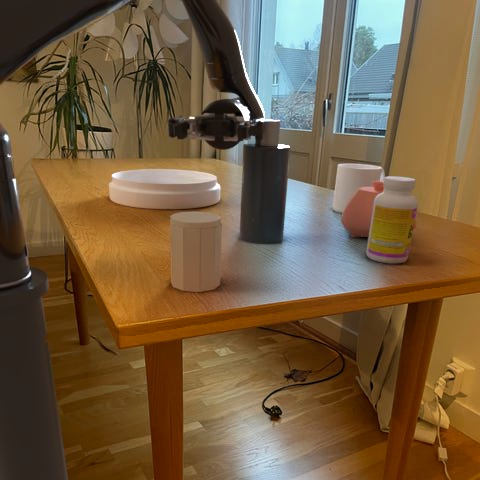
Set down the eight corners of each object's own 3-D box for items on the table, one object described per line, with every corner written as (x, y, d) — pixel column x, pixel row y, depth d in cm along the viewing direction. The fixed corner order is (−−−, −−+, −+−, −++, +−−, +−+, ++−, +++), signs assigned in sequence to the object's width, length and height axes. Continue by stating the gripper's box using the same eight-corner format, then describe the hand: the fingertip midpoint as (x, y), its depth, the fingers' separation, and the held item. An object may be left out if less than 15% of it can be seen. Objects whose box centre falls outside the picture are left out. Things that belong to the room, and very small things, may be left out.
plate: (86, 201, 111) (84, 177, 109) (146, 186, 134) (146, 165, 132) (190, 214, 103) (190, 188, 100) (235, 195, 126) (236, 174, 123)
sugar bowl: (349, 224, 100) (356, 174, 96) (418, 235, 94) (429, 182, 90) (331, 237, 90) (338, 181, 86) (407, 249, 84) (418, 190, 80)
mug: (350, 216, 108) (357, 169, 103) (324, 208, 116) (329, 163, 111) (392, 213, 113) (399, 168, 109) (363, 205, 121) (370, 163, 117)
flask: (246, 244, 83) (251, 120, 75) (234, 232, 90) (239, 118, 82) (289, 243, 85) (299, 122, 77) (274, 231, 92) (283, 119, 84)
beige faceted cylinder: (175, 293, 60) (173, 223, 57) (168, 276, 66) (167, 211, 63) (224, 290, 62) (226, 222, 58) (213, 274, 68) (214, 210, 64)
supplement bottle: (409, 266, 75) (426, 183, 70) (366, 262, 76) (379, 179, 71) (404, 254, 81) (419, 177, 76) (364, 251, 82) (376, 174, 77)
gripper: (183, 98, 79) (157, 101, 65) (268, 99, 78) (261, 103, 64) (185, 145, 83) (161, 158, 68) (267, 148, 81) (259, 162, 67)
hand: (209, 132), depth 66 cm, fingers open, 8 cm apart
